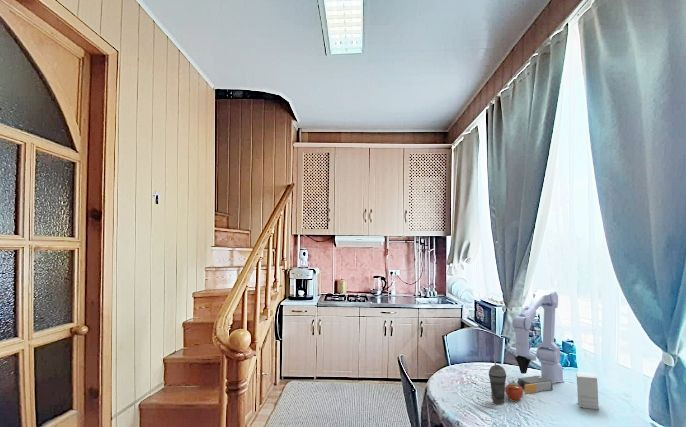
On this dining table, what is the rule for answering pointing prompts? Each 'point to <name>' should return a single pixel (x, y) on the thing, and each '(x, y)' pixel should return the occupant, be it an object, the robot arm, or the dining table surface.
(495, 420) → the dining table surface
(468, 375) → the dining table surface
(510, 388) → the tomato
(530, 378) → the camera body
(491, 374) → the beverage cup
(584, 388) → the supplement box
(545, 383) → the side door
